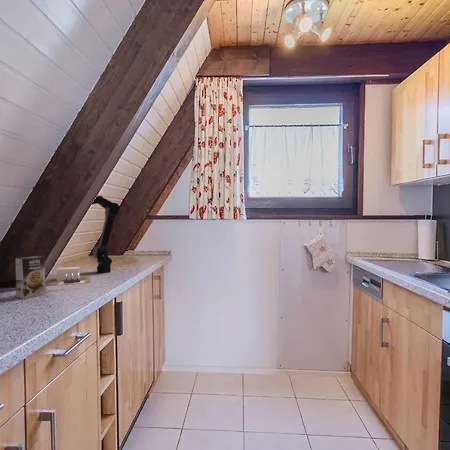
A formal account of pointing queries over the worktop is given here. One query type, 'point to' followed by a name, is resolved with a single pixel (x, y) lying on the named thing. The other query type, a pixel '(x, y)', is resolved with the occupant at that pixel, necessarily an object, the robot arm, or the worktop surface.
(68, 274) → the block
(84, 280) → the board
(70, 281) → the dark grey bulb holder
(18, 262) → the cookie box
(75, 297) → the worktop surface
